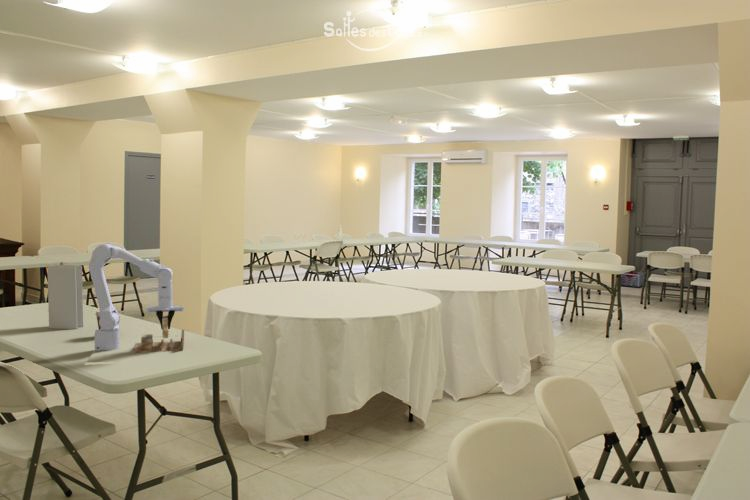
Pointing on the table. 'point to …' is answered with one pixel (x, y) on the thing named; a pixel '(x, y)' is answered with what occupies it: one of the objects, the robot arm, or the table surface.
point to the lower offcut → (146, 345)
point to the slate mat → (160, 336)
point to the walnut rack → (161, 346)
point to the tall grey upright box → (65, 296)
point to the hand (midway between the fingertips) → (165, 328)
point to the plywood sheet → (165, 326)
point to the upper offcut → (147, 338)
